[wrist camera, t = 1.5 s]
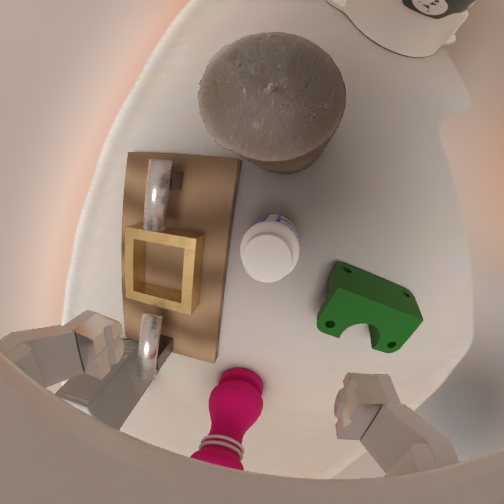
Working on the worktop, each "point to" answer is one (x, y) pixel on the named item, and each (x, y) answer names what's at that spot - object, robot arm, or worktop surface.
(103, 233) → the worktop surface
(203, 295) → the shaft stand
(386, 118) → the worktop surface
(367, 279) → the clamp
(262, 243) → the pill bottle
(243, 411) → the pepper mill
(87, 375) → the skincare box
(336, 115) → the pillar candle
